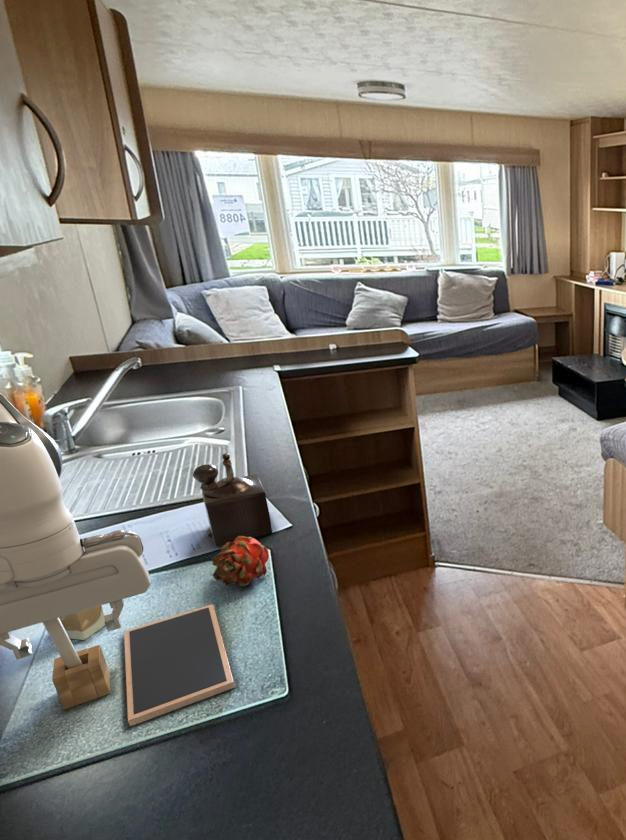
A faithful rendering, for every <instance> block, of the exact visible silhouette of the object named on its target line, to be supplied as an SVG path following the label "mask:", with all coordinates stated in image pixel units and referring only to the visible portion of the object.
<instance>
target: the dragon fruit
mask: <svg viewBox="0 0 626 840" xmlns="http://www.w3.org/2000/svg"><path fill="white" fill-rule="evenodd" d="M269 559H270V555H269V550H268V548H267V547H266V546H265V545H263V544H262V543H261V542H259V540H257V539H256V538H255V539H254V538H251V537H245V536H238V537H237V538H236V539H235V541H234V542H227V543H226V544H225V545H224V546H221V548H220V552H219V553H217V554H215V555H214V556H212V558H211V561H212V563H211V564H212V566H215V567H216V568H215V570H214V572H213V574H212V577H213V578H214V580H215V581H222V584H224V585H226V586H229V585H230V586H231V585H236V586H240V587H241V586H242V587H243V586H244V587H246V586H248V585H249V584H251V582H252V580H253V579H260V577H265V575H267V567H266V563H267V562H268V561H269Z"/></svg>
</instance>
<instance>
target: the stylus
mask: <svg viewBox="0 0 626 840" xmlns="http://www.w3.org/2000/svg"><path fill="white" fill-rule="evenodd" d="M42 624H43V626H44V628H45V630H46V632H47V634H48V636H49V637H50V640H51V641H52V643H53V644H54V647H55V649H56V650H57V652H58V654H59V657H61V658H62V660H63V662H64V664H65V666H66V667H67V669H71V668H74V667H77V666H80V665H83V664H82V662H81V660H80V658H79V656H78V654H77V650H76V648H75V646H74V645H73V643H72V641H71V639H70V638H69V637H68V635H67V633H66V631H65V629H64V627H63V625H62V623H61V621H60V619H59V618H56V619H52V620H49V621H45V622H42Z"/></svg>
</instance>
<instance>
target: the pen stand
mask: <svg viewBox="0 0 626 840" xmlns="http://www.w3.org/2000/svg"><path fill="white" fill-rule="evenodd" d="M76 652H77V654H78V656H79V658H80V660H81V662H82V664H83V665H80V666H77V667H74V668H71V669H67V667H66V666H65V664H64V662H63V660H62V658H61V656H59V657H55V658H54V659H53V669H52V678H51V681H52V684H53V686H54V689H55V691H56V693H57V696H58V699H59V701H60V703H61V705H62V708H63V710H67V709H70V708H74V707H76V706H79V705H82V704H84V703H87V702H88V703H89V702H91V701H93V700H96V699H99V698H102V697H106V696H108V695H110V694H111V672H110V669H109V667H108V664H107V660H106V658H105V655H104V652H103V650H102V646H101V644H97V645H94V646H90V647H88V648H83V649H80V650H76Z"/></svg>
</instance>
